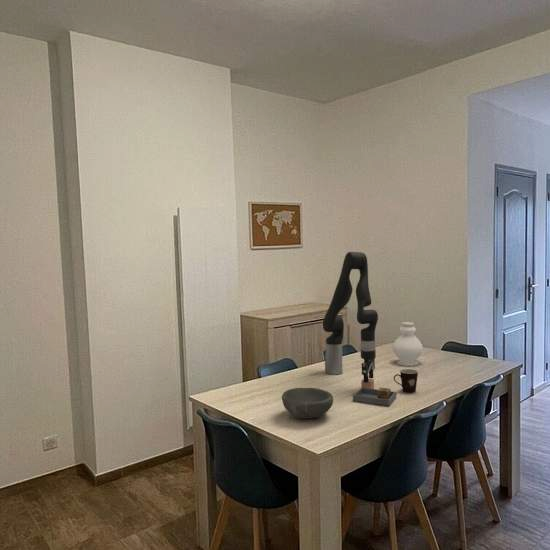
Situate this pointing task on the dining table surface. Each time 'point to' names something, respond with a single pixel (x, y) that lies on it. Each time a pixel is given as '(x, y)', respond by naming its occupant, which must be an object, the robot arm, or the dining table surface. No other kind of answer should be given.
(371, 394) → the charcoal tray
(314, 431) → the dining table surface
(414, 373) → the coffee mug
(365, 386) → the terracotta block
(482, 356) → the dining table surface
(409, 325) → the decorative vase
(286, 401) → the bowl
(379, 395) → the walnut block
